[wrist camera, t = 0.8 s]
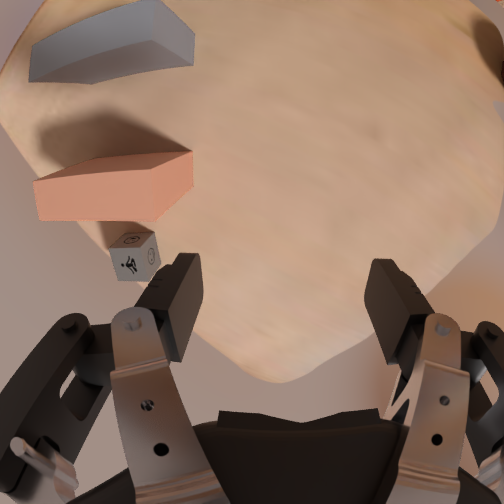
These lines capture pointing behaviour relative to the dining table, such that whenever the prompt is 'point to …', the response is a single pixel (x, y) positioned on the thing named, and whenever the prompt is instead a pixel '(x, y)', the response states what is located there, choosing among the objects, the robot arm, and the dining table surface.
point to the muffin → (502, 70)
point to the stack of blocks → (501, 2)
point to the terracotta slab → (115, 188)
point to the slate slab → (114, 45)
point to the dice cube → (135, 256)
